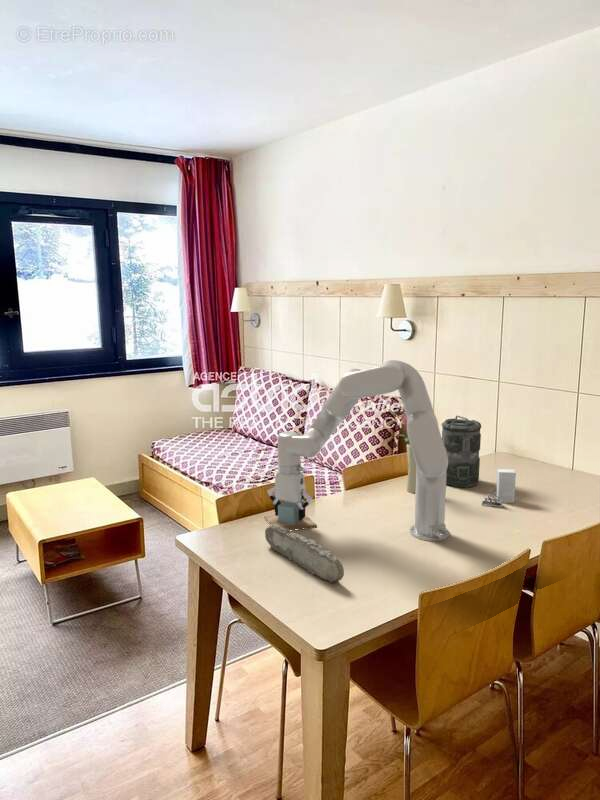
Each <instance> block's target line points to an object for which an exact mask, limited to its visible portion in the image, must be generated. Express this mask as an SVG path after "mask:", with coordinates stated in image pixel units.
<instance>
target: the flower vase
mask: <svg viewBox="0 0 600 800" xmlns="http://www.w3.org/2000/svg"><path fill="white" fill-rule="evenodd" d="M402 409H403V410H404V411H405V409H404V406H402ZM397 412H398V413H399V414H401V411H399V410H398V409H397ZM398 413H395V412H393V415H397V416H399V417H400V418H402V419H401V421H400V422H401V424H403V425H407V417H406V415H405V416H404V417H402V416H401V415H399V414H398ZM396 436H398V437H399V436H400V437H402V438H404V441H405V442H409V438H408V437H406V436H405V434H397V435H396ZM406 455H407V463H408V471H407V478H406V480H407V481H406V488H405V489H406V490H405V491H406V492H407V493H410V494H416V462H415V458H414V455H413V452H412V448H411V445H410V443H408V444H406Z"/></svg>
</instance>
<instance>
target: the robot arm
mask: <svg viewBox="0 0 600 800" xmlns="http://www.w3.org/2000/svg"><path fill="white" fill-rule="evenodd" d="M395 391H398V392H399V396H400V399H401V404H402V405H403V406H402V407H404V408H403V410H404V409H405V410H404V412H405V413H404V414H405V416H406V417H407V424H406V433H407V438H409V439H408V442H409V444H410V445H411V448H412V452H413V455H414V458H415V462H416V493H415V499H414V500H415V501H414V503H415V505H414V524H413V525H412V526H410V528H409V534H410V535H411V536H412V537H414V538H415V539H418V540H421V541H426V542H440V541H444V540H447V539H448V538H449V537H450V532H449V529H448V528H447V527H446V524H445V521H446V520H445V519H446V516H445V515H446V495H447V494H446V492H447V485H446V470H447V467H448V455H447V450H446V448H445V446H444V445H443V441H442V433H441V431H440V427H439V421H438V418H437V417H436V414H435V411H434V409H433V405H432V402H431V399H430V395H429V392H428V389H427V387H426V384H425V382H424V379H423V377H422V376H421V374H420V373H419V371H418V370H417V368H415V367H413V365H411V364H409V363H407V362H405V361H401V360H396V359H391V360H386V361H384V362H383V363H382V364H381V365H380V366H377V367H372V368H368V369H363V370H362V369H360V368H350V369H349V370H347V371H345V373H344V374H343V376H342V377H341V378H340V379H339V382H338V383H337V384H336V386H335V387H334V389H333V390H332V392H331V393H330V395H328V397H327V399H326V400H325V401H324V403H323V404H322V407H321V410H320V412H319V413H318V415H317V417H316V418H315V420H314V421H313V423H312V424H311V425H310V427H309V428H308V429H307V431H306V432H305V433H304V434H303V435H300V434H299V433H298V432H296V431H283V432H280V433H278V435H277V471H276V473H275V478H274V479H275V480H274V487H271V488H270V489H268V490H267V491H266V492H267V494H268V496H269V499H270V500H271V501H272V504H273V506H274V515H275V516H278V505H279V504H281V503H282V502H281V501H283V502H284V501H288V502H294V503H297V504H298V506H299V507H300V509H299V520H300V521H301V520H302V519H303V518H304V517H305V515H306V507H307V506H309V505H310V504H311V502H312V500H313V496H311V495H310V494H309V493H308V492H307V491H306V483H305V481H306V480H305V477H304V476H305V475H304V473H303V471H304V466H302V465H301V457H302V458H303V457H304V458H315V457H317V456H318V455H319V453H320V452H321V451H322V449H323V447H324V445H326V443H327V441H328V440H329V439H330V438H331V435H332V434H333V433H334V431H335V430H336V429H337V427H338V426H339V425H340V424H341V423H343V422H344V420H346V418H347V417H348V415H349V414H350V413H351V411H352V410H353V408H354V407H355V406H356V404H357V403H358V402H359V400H360V399H366V398H370V397H376V396H381V395H386V394H389V393H393V392H394V393H395ZM304 499H306V501H305V500H304Z"/></svg>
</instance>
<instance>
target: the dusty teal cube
mask: <svg viewBox="0 0 600 800" xmlns="http://www.w3.org/2000/svg"><path fill="white" fill-rule="evenodd" d="M299 509H300V507H299V506H298V504H297V503H294V502H288V501H283V502H281V504H279V505H278V522H280V523H285V524H290V525H294V524H296V523H297V522H298V521H300V520H299Z"/></svg>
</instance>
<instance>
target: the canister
mask: <svg viewBox="0 0 600 800" xmlns="http://www.w3.org/2000/svg"><path fill="white" fill-rule="evenodd" d="M441 427H442V430H441V438H442V441H443V445H444V446H445V448H446V450H447V455H448V467H447V470H446V486H452V487H459V488H460V487H461V488H466V489H467V488H473V487H475V486H476V485H478V483H479V481H480V465H481V463H480V462H481V461H480V460H481V458H480V450H481V440H482V437H481V436H482V434H481V429H482V424H481V422H480V421H477V420H475V419H472V420H471V419H468V418H467V417H464V416H461V415H458V414H456V415H455V418H448V419H445V420H444V421H443V422H441Z"/></svg>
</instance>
